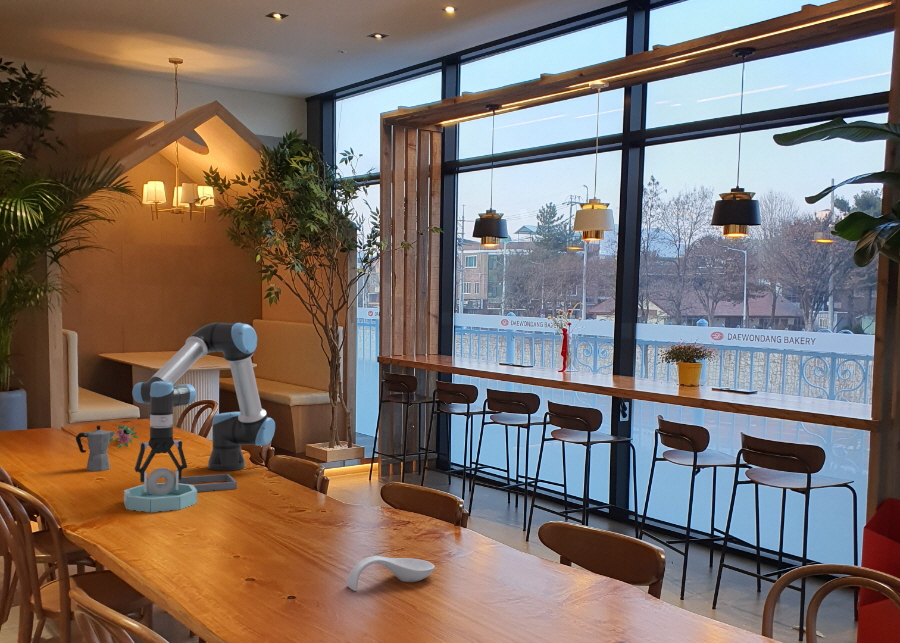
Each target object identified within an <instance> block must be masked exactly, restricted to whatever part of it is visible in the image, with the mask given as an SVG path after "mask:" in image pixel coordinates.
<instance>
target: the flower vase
mask: <svg viewBox="0 0 900 643" xmlns="http://www.w3.org/2000/svg"><path fill="white" fill-rule="evenodd" d="M134 430H135V425H133V426H132V427H131V428H129V426H128V425H121V424H120V423H118V426H117V430H116V432H115V434H113V436H112V438H111V439H110V441H109V443H112V442H114V440H115V441H118V442H120V443H119V445H118V447H117V449H118V450H119V449H121V448H122V447H123V446H125V447H126V448H127V447H128V448H129V443H130V444H132V443H133V439H139V436H137V435H136V434H137V433H138V431H134ZM131 436H132V438H133V439H132V438H131ZM113 437H115V438H113Z"/></svg>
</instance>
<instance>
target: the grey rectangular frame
mask: <svg viewBox="0 0 900 643" xmlns="http://www.w3.org/2000/svg"><path fill="white" fill-rule="evenodd" d="M203 482H204V483H203ZM178 483H181V484H188V483H191V484H192V485H193V486H194V487H195V488H196V490H197V493H200V492H201V491H203V492H212V491H213V490H215V491H224V490H226V491H227V490H237V489H238V487H237V486H238V482H237V481H236V479H235V478H233V477H232V476H231V475H230V473H223V474H222V473H220V474H207V475H195V476H182V478H181V479H180V480H178ZM213 492H214V491H213ZM201 493H202V492H201Z"/></svg>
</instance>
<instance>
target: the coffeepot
mask: <svg viewBox="0 0 900 643" xmlns="http://www.w3.org/2000/svg"><path fill="white" fill-rule="evenodd" d="M113 435H116V432H115V431H111V430H104V429H101V425H96V430H92V431H87V432H79V433H78V434H77V435H76V437H75V440H76V443H77V446H78V450H79V452H80V453H82V454H83V453H87V449H84V448H83V447H84V446H83V444H82V439H81V438H87V440H86V441H87V446H88V450H89V454H88V459H87V465H86V471H88V470H89V472H102V471H103V470H104V471H107V470H110V467H111V464H110V459H109V453H108V448H109V444H110V442H109V441H110V439H111V438H113Z"/></svg>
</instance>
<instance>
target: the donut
mask: <svg viewBox="0 0 900 643" xmlns="http://www.w3.org/2000/svg"><path fill="white" fill-rule="evenodd" d="M160 478H163V479H164V480H165V482H164V483H165V484H164V485H163V486H161V487H159V486H157V483H158V480H159V479H160ZM174 485H175V473H174V472H173V471H172V470H171V469H169V468H167V467H159V468H155V469H154V470H153V471H151V472H150V473H149V474H148V475H147V489H148V491H149V492H150V493H151V494H152V495H154V496H164V495H167V494H168V493H170V492H171V490H172V489H173V487H174Z"/></svg>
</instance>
